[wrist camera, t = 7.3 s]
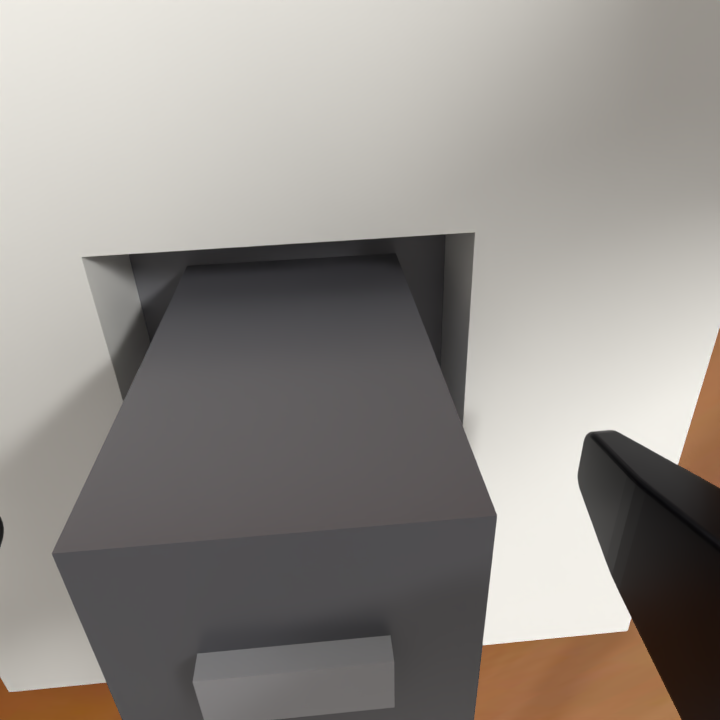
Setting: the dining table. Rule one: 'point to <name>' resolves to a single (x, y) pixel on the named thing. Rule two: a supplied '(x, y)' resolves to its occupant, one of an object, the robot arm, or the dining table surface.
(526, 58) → the outlet plate
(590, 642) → the dining table surface
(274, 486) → the grey square peg
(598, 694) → the dining table surface
